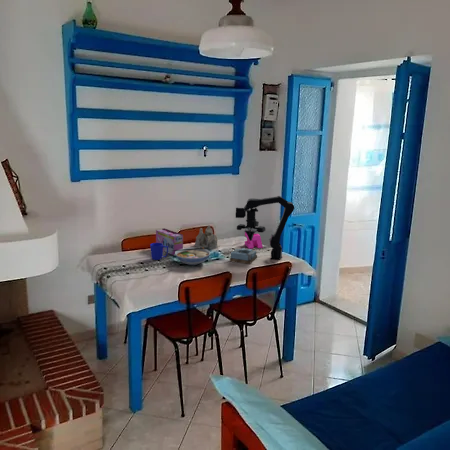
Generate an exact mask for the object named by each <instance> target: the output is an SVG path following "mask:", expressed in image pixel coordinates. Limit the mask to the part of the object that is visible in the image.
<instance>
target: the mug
mask: <svg viewBox="0 0 450 450" xmlns="http://www.w3.org/2000/svg"><path fill="white" fill-rule="evenodd" d="M149 245H150V246H149V247H150V255H151V256H150V257H151V260H154V261H159V260H162V259H163V258H166V257H167V256H168V254H169V253H168V246H163V244H162V243H156V242H153V243H150V244H149ZM163 247H167V252H166V254H165V255H163V253H164V251H163Z"/></svg>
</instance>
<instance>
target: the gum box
mask: <svg viewBox="0 0 450 450" xmlns="http://www.w3.org/2000/svg"><path fill="white" fill-rule="evenodd" d="M155 243H162V244H163V246H168V254H170V255H173V256H175V255H174V254H175V252H176V251H172V250H180V249H184V234H182V233H180V232H176V231H173V230H170V229H167V228H162V229H155ZM163 252H165V253H167V247H163Z"/></svg>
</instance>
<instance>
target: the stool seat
mask: <svg viewBox="0 0 450 450" xmlns="http://www.w3.org/2000/svg"><path fill="white" fill-rule="evenodd" d="M231 252H239V253H245V254H251V260H250V261H247V260H241V259H234V258H231V257H230V258H229V262H233V263H241V264H247V265H250V264H252V263H253V262H254V261H256V260H257V259H258V255H257V250H253V249H249V248H245V247H244V248H243V247H242V248H235V249H234V250H233V251H231Z"/></svg>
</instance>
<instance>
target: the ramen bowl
mask: <svg viewBox="0 0 450 450" xmlns="http://www.w3.org/2000/svg"><path fill="white" fill-rule="evenodd" d="M210 250H211V249H210V248H209V247H201V248H200V247H183V249H180V250H172V251H176V252H175V255H174V256H175V257H176V258H177V260H178V261H180V262H181V263H183V264H186V265H188V266H196V265H199V264H202V263H204V262H205V261H207V260H208V258H209V256H210V255H211V251H210Z"/></svg>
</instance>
